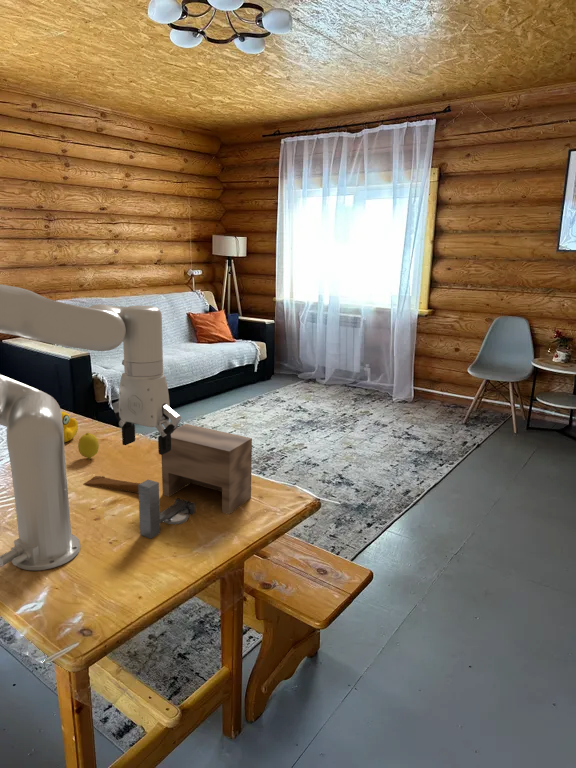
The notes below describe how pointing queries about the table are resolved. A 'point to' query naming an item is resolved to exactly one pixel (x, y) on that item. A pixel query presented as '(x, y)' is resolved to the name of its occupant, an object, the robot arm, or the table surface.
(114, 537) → the table surface
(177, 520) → the steel token
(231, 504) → the wooden bridge block
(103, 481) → the primitive tool
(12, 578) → the table surface
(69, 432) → the duckling
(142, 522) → the hoe
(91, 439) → the lemon
